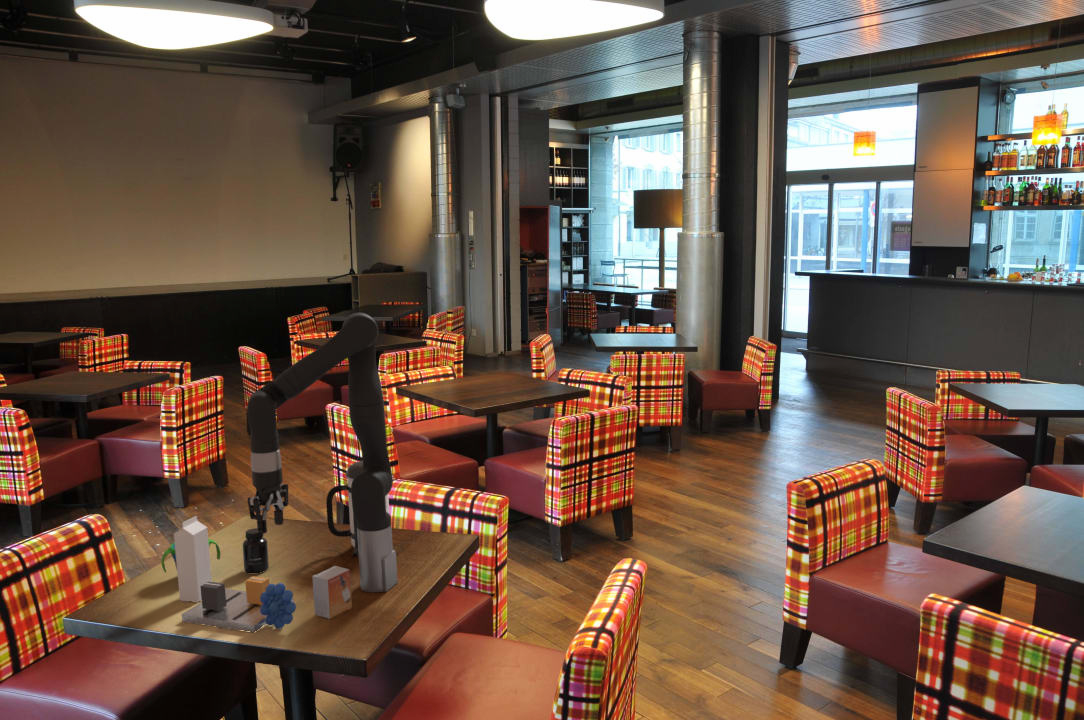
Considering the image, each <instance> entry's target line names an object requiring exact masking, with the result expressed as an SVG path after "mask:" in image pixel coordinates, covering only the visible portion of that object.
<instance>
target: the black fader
mask: <svg viewBox="0 0 1084 720" xmlns="http://www.w3.org/2000/svg"><path fill="white" fill-rule="evenodd" d="M225 585H226V584H225V583H223V582H215V581H212V582H207V583H205V584H203V585H202V586H200V587H201V598H202V601H201V602H202V608H203V609H209V610H216V611H219V610H221V609H222V608H224V607H226V606H227V605H226V594H225V589H226V586H225Z"/></svg>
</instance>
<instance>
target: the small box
mask: <svg viewBox="0 0 1084 720" xmlns="http://www.w3.org/2000/svg"><path fill="white" fill-rule="evenodd" d="M311 577H312V589H313V591H312V593H313V594H312V595H313V605H314V606H313V607H314V608H313V609H314V615H315V616H319V617H322V618H326V619H329V620H330V619H331V620H332V619H333V618H334V617H336V616H338V615H340V614H342V613H344V612H345V611H347V610H350V609H352V607H353V605H352V587H351V584H352V583H351V570H350V569H349V568H346V567H345V568H344V567H341V566H337V565H332V567H329V568H328V569H326V570H323V571H321V572H320V573H317V574H314V575H312V576H311Z"/></svg>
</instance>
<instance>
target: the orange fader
mask: <svg viewBox="0 0 1084 720" xmlns="http://www.w3.org/2000/svg"><path fill="white" fill-rule="evenodd" d="M269 584H270V577H261V576H254V575H252V576H250V577H249V578H247V579H246V580H245V591H246V595H247V603H252V604H259V605H263V603H261V601H260V596H261V594H262V593H263V592H266V587H267V586H268V585H269Z"/></svg>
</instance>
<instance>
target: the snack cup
mask: <svg viewBox="0 0 1084 720" xmlns="http://www.w3.org/2000/svg"><path fill="white" fill-rule="evenodd" d="M208 543H209V547H210V545H212V544H214V545H215V550H216V559H217V560H218V561H219V560H220V559H221V549H220V546H219V545H218V543H217V542H216V541H215V540H213V539H210V538H208ZM169 554H171V556H172V559H173V561H174V564H175V569H176V570H177V562H176V552H175V541H174V542H173V543H171V544H170V546H169V547H168V549H166V550H165V551H164V552H163V554H162V557H161V567H162V569H163V572H164V573H167V570H166V566H165V559H166V557H167V556H168V555H169Z"/></svg>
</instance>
